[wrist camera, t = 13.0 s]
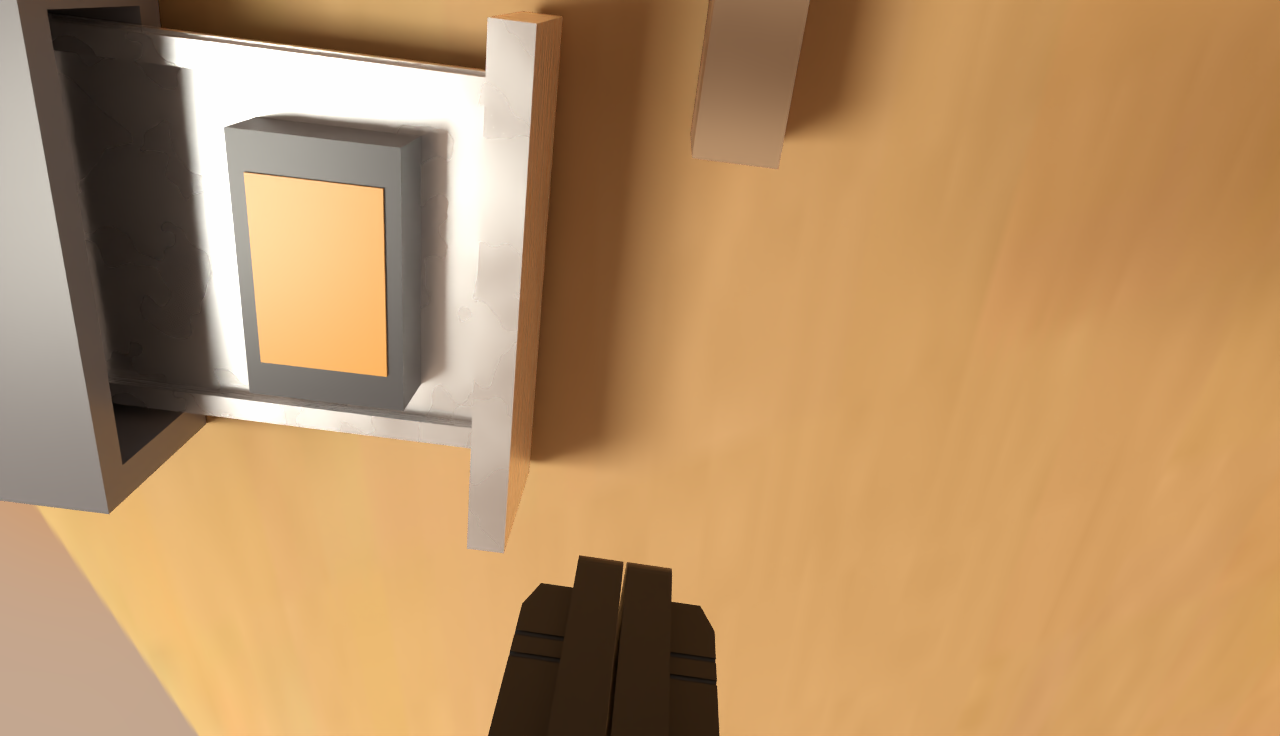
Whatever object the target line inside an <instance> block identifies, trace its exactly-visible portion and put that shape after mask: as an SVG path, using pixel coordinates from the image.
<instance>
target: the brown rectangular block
mask: <svg viewBox="0 0 1280 736" xmlns="http://www.w3.org/2000/svg"><path fill="white" fill-rule="evenodd" d="M809 3H810V0H709V7H708V14H707V21H706V28H705V35H704V42H703V49H702V57H701V64H700V71H699V78H698V85H697V92H696V99H695V106H694V113H693V120H692V127H691V150H692V158H695V159H702V160H710V161H718V162H726V163H733V164H741V165H749V166H757V167H764V168H772V169H778V168H779V163H780V157H781V152H782V147H783V141H784V136H785V131H786V125H787V120H788V115H789V109H790V104H791V99H792V93H793V88H794V83H795V77H796V72H797V67H798V61H799V56H800V51H801V45H802V40H803V35H804V29H805V24H806V19H807V13H808V8H809Z"/></svg>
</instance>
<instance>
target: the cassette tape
mask: <svg viewBox="0 0 1280 736" xmlns="http://www.w3.org/2000/svg"><path fill="white" fill-rule="evenodd" d="M223 129H224V139H225V149H226V159H227V169H228V179H229V189H230V200H231V210H232V220H233V230H234V240H235V250H236V260H237V271H238V281H239V291H240V301H241V311H242V321H243V331H244V341H245V352H246V362H247V372H248V382H249V392H250V393H254V394H263V395H271V396H280V397H289V398H297V399H306V400H314V401H323V402H331V403H340V404H348V405H357V406H365V407H374V408H382V409H391V410H399V411H404V410H405V408H406V407H407V405H408V403H409V402H410V400H411V399H412V397H413V396H414V394H415V393H416V391H417V390H418V388H419V387H420V385H421V136H415V135H406V134H398V133H389V132H381V131H373V130H364V129H356V128H347V127H339V126H331V125H322V124H314V123H305V122H297V121H289V120H280V119H272V118H263V117H253V118H250V119H247V120H244V121H241V122H237V123H234V124H231V125H228V126H225V127H223Z"/></svg>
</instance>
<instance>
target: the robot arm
mask: <svg viewBox="0 0 1280 736" xmlns="http://www.w3.org/2000/svg"><path fill="white" fill-rule="evenodd" d="M622 572H623V562H621V561H614V560H607V559H601V558H594V557H587V556H580V555H579V559H578V565H577V570H576V576H575V581H574V587H573V588H571V587H565V586H558V585H551V584H544V583H541V584H540V585H539V586H538V587H537V588H536V589H535V590H534V592H533V593H532V594H531V595H530V596H529V597H528V598H527V599H526V600H525V601H524V602H523V603H522V607H521V611H520V615H519V618H518V622H517V626H516V631H515V635H514V638H513V642H512V645H511V649H510V655H509V657H508V661H507V665H506V669H505V673H504V676H503V680H502V684H501V688H500V692H499V696H498V700H497V703H496V707H495V711H494V715H493V719H492V723H491V727H490V730H489V734H488V736H719V718H718V697H717V686H716V681H717V676H716V663H715V659H716V654H715V633H714V630H713V628H712V626H711V624H710V623H709V621H708V619H707V617H706V615H705V614H704V612H703V610H702V608H701V606H697V605H690V604H683V603H676V602H671V593H672V570H671V569H670V568H663V567H657V566H650V565H643V564H636V563H629V562H627V565H626V570H625V575H624V581H623V587H622V593H621V599H620V591H621V582H622ZM619 601H620V605H619Z"/></svg>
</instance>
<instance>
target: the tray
mask: <svg viewBox="0 0 1280 736" xmlns="http://www.w3.org/2000/svg"><path fill="white" fill-rule="evenodd" d="M48 19H49V25H50V31H51V37H52V43H53V49H54V55H55V61H56V68H57V74H58V80H59V86H60V92H61V98H62V104H63V110H64V116H65V122H66V128H67V134H68V140H69V146H70V152H71V158H72V164H73V170H74V176H75V182H76V188H77V194H78V200H79V206H80V212H81V218H82V224H83V230H84V236H85V242H86V248H87V254H88V260H89V266H90V272H91V278H92V284H93V290H94V296H95V302H96V308H97V314H98V320H99V326H100V332H101V338H102V344H103V350H104V356H105V362H106V369H107V375H108V381H109V387H110V393H111V399H112V403H114V404H122V405H130V406H138V407H146V408H154V409H162V410H170V411H178V412H186V413H193V414H201V415H209V416H217V417H225V418H233V419H241V420H249V421H257V422H265V423H273V424H281V425H289V426H297V427H305V428H313V429H321V430H329V431H337V432H345V433H353V434H361V435H369V436H376V437H384V438H392V439H400V440H408V441H416V442H424V443H432V444H440V445H448V446H456V447H464V448H471V461H470V487H469V512H468V538H467V549H475V550H483V551H491V552H499V553H504V551H505V548H506V545H507V541H508V538H509V535H510V532H511V529H512V525H513V522H514V519H515V516H516V512H517V509H518V506H519V503H520V500H521V496H522V493H523V490H524V487H525V483H526V480H527V477H528V474H529V468H530V454H531V441H532V427H533V414H534V400H535V387H536V373H537V360H538V346H539V332H540V319H541V305H542V292H543V278H544V265H545V251H546V238H547V224H548V211H549V197H550V184H551V170H552V157H553V143H554V129H555V116H556V102H557V89H558V75H559V62H560V48H561V35H562V21H563V16H556V15H549V14H541V13H533V12H526V11H521V12H515V13H509V14H504V15H498V16H492V17H488V24H487V50H486V70H484V69H476V68H469V67H461V66H453V65H446V64H438V63H430V62H422V61H415V60H407V59H399V58H392V57H384V56H376V55H369V54H361V53H353V52H346V51H338V50H330V49H323V48H315V47H307V46H299V45H292V44H284V43H276V42H269V41H261V40H253V39H246V38H238V37H230V36H223V35H215V34H207V33H200V32H192V31H184V30H176V29H169V28H161V27H153V26H146V25H138V24H130V23H123V22H115V21H107V20H100V19H92V18H84V17H77V16H69V15H61V14H53V13H48ZM253 117H263V118H272V119H280V120H289V121H297V122H305V123H314V124H322V125H331V126H339V127H347V128H356V129H364V130H373V131H381V132H389V133H398V134H406V135H415V136H421V385H420V387H419V388H418V390H417V391H416V393H415V394H414V396H413V397H412V399H411V400H410V402H409V403H408V405H407V407H406V408H405V410H404V411H399V410H391V409H382V408H374V407H365V406H357V405H348V404H340V403H331V402H323V401H314V400H306V399H297V398H289V397H280V396H271V395H263V394H254V393H250V392H249V382H248V372H247V362H246V352H245V341H244V331H243V321H242V311H241V301H240V291H239V281H238V271H237V260H236V250H235V240H234V230H233V220H232V210H231V200H230V189H229V179H228V169H227V159H226V149H225V139H224V129H223V127H225V126H228V125H231V124H234V123H237V122H241V121H244V120H247V119H250V118H253Z"/></svg>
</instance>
